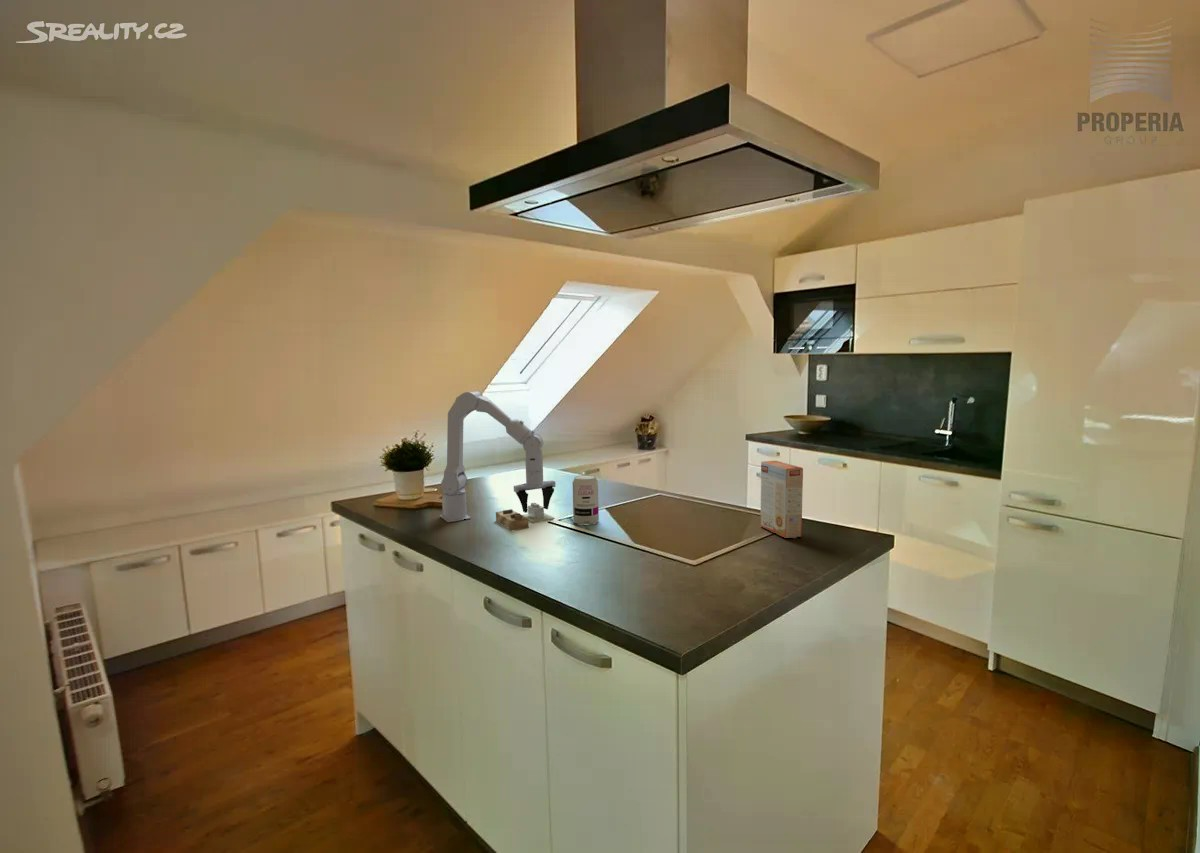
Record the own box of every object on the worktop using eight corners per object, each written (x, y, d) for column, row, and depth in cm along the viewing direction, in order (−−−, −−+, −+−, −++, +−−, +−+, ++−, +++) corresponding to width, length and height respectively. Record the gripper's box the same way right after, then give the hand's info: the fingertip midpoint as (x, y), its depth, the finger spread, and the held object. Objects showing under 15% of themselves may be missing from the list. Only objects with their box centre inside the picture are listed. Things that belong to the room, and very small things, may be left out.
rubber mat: (520, 516, 197) (520, 515, 197) (541, 513, 201) (541, 511, 201) (532, 523, 189) (532, 521, 189) (554, 519, 193) (554, 517, 193)
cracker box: (803, 538, 167) (804, 467, 165) (784, 540, 166) (785, 468, 163) (776, 525, 181) (777, 459, 178) (759, 527, 179) (760, 460, 177)
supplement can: (590, 517, 195) (589, 473, 193) (603, 523, 188) (602, 477, 186) (569, 521, 190) (568, 476, 189) (581, 527, 183) (580, 480, 182)
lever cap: (528, 515, 196) (527, 503, 196) (537, 514, 198) (537, 502, 197) (534, 519, 192) (534, 506, 191) (543, 517, 194) (543, 505, 193)
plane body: (496, 520, 193) (495, 509, 192) (511, 518, 196) (511, 506, 195) (512, 530, 181) (512, 518, 180) (528, 527, 184) (528, 515, 183)
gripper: (519, 474, 186) (520, 516, 187) (559, 469, 193) (560, 509, 195) (510, 471, 192) (512, 511, 193) (549, 467, 199) (550, 505, 201)
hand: (535, 510), depth 195 cm, fingers open, 7 cm apart
